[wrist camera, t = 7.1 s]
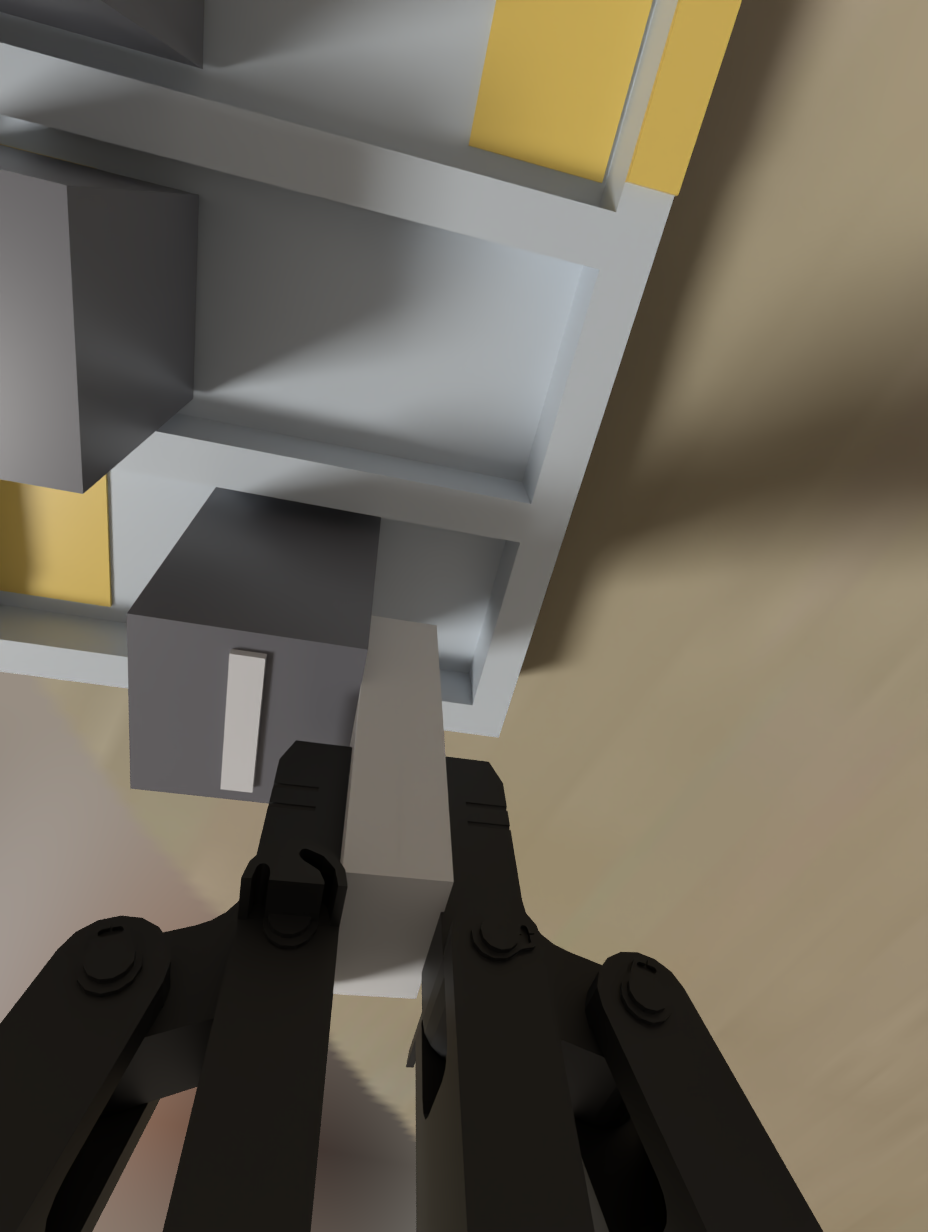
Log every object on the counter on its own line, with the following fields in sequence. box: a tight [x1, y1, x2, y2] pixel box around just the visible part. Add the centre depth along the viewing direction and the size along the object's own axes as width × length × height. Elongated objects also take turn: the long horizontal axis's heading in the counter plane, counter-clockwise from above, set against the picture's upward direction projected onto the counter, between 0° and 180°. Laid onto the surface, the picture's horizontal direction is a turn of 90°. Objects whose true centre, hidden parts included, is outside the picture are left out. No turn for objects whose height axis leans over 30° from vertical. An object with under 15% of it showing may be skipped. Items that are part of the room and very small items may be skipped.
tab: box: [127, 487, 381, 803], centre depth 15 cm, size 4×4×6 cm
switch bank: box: [0, 0, 742, 737], centre depth 15 cm, size 19×15×3 cm
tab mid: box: [0, 145, 199, 494], centre depth 11 cm, size 4×4×6 cm
